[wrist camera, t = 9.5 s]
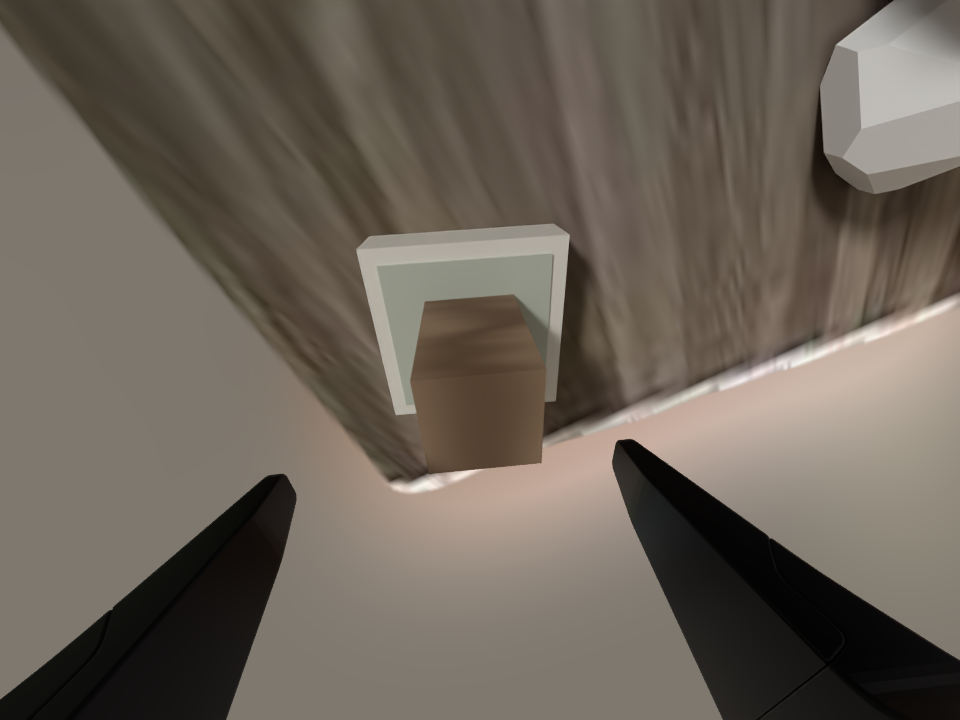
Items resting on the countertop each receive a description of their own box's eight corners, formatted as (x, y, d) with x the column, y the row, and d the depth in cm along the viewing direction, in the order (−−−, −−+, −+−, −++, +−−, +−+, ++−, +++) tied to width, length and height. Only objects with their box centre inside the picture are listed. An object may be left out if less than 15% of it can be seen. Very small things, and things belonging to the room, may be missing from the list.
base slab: (553, 223, 18) (570, 235, 16) (544, 374, 24) (556, 402, 21) (369, 236, 18) (355, 250, 15) (401, 386, 23) (395, 416, 21)
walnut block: (513, 294, 17) (546, 369, 11) (513, 368, 19) (541, 462, 13) (424, 301, 17) (409, 381, 11) (436, 375, 19) (429, 473, 13)
